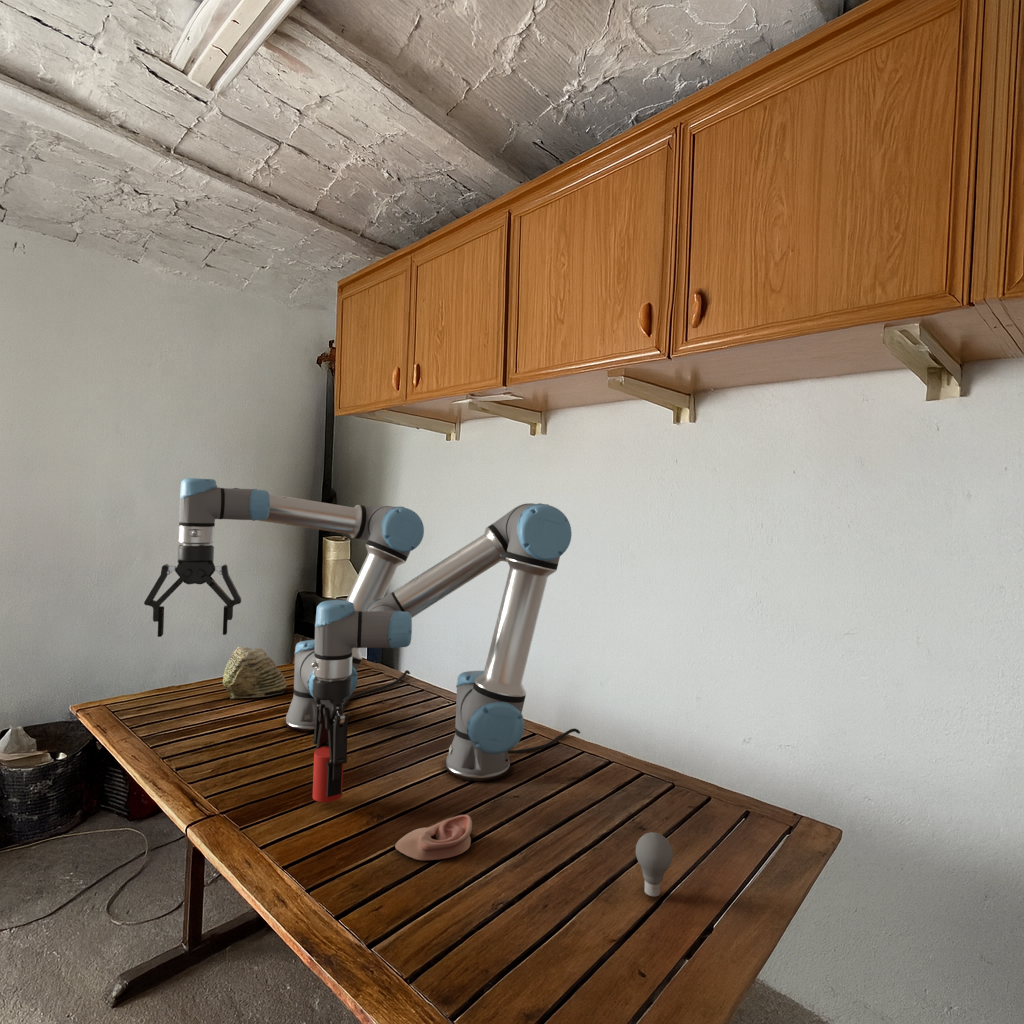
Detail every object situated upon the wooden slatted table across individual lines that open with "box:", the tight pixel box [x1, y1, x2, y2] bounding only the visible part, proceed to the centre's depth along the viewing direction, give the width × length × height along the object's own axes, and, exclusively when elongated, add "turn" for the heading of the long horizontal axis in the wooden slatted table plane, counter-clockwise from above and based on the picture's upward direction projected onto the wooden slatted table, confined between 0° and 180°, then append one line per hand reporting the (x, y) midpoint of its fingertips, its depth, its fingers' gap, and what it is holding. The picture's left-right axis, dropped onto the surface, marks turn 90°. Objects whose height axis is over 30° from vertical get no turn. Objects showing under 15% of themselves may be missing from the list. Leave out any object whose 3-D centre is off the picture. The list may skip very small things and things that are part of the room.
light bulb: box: [635, 831, 674, 897], centre depth 105 cm, size 6×6×10 cm
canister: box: [312, 746, 344, 803], centre depth 130 cm, size 6×6×9 cm
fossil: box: [222, 646, 288, 699], centre depth 198 cm, size 9×18×15 cm, turn 132°
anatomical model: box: [394, 814, 473, 861], centre depth 117 cm, size 13×4×12 cm
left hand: (193, 634), depth 148 cm, fingers open, 13 cm apart
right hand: (328, 787), depth 131 cm, fingers closed on canister, 6 cm apart
